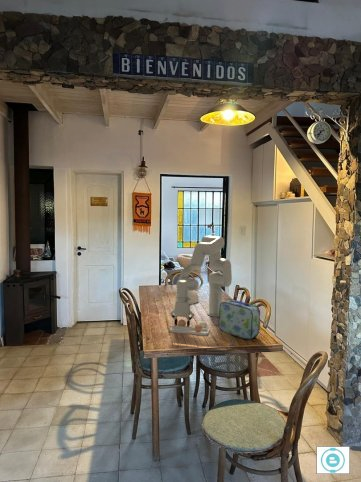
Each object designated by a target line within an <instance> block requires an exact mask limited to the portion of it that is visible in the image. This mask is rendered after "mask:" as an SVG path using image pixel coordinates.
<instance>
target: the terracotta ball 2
mask: <svg viewBox="0 0 361 482" xmlns="http://www.w3.org/2000/svg"><path fill="white" fill-rule="evenodd" d="M194 329H195V331H196V332H201V331H202V326H201V325H200V323H197V324H195V326H194Z"/></svg>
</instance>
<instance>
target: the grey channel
mask: <svg viewBox="0 0 361 482" xmlns="http://www.w3.org/2000/svg"><path fill="white" fill-rule="evenodd" d="M194 327H195V326H194ZM194 327H193V326H191V327H190V326H188V327H187V326H179V325H176V326H175V325H172V326H171V327H170V329H168V330H169V333H178V334H189V335H198V336H199V335H200V336H206V337H207V336H209V333H210V330H211V329H210V328H202V331H201V332H196V331H195V329H194Z"/></svg>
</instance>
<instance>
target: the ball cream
mask: <svg viewBox="0 0 361 482" xmlns="http://www.w3.org/2000/svg"><path fill="white" fill-rule="evenodd" d="M199 324H200V325H201V326H202V328H205V329H207V327H208V324H207V322H206V321H205V320H204V321H203V320H202V321H200V322H199Z"/></svg>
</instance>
